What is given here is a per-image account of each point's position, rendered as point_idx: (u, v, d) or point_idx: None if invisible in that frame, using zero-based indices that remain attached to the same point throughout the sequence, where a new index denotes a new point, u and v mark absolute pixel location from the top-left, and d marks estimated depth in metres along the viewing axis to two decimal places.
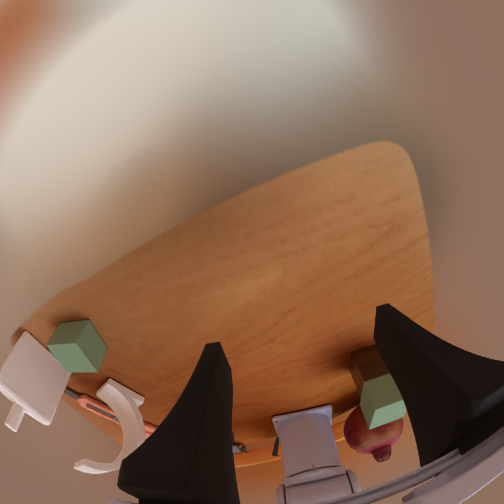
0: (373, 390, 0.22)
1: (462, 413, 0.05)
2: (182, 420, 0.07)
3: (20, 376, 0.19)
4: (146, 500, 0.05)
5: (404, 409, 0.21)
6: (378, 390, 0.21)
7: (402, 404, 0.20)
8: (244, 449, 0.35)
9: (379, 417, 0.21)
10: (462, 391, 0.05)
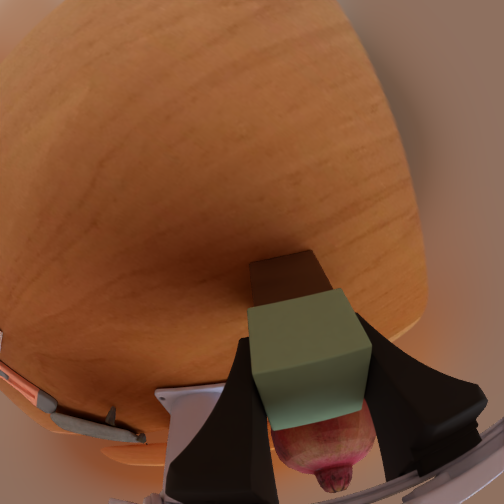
0: (263, 326, 0.10)
1: (417, 436, 0.05)
2: (229, 416, 0.07)
3: None
4: None
5: (357, 389, 0.09)
6: (276, 327, 0.10)
7: (344, 372, 0.09)
8: (142, 439, 0.23)
9: (284, 402, 0.09)
10: (416, 414, 0.05)
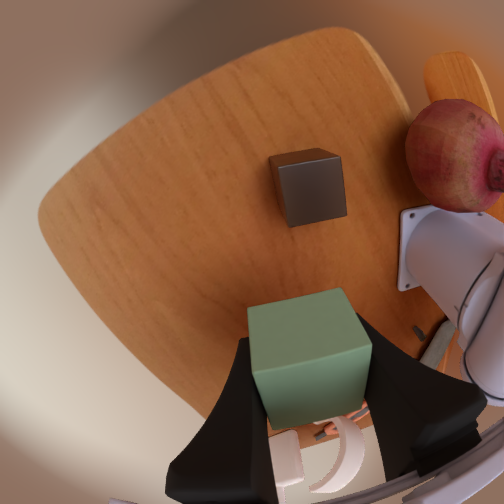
0: (263, 325, 0.10)
1: (417, 436, 0.05)
2: (229, 416, 0.07)
3: None
4: None
5: (357, 389, 0.09)
6: (276, 326, 0.10)
7: (344, 371, 0.09)
8: None
9: (284, 401, 0.09)
10: (416, 414, 0.05)
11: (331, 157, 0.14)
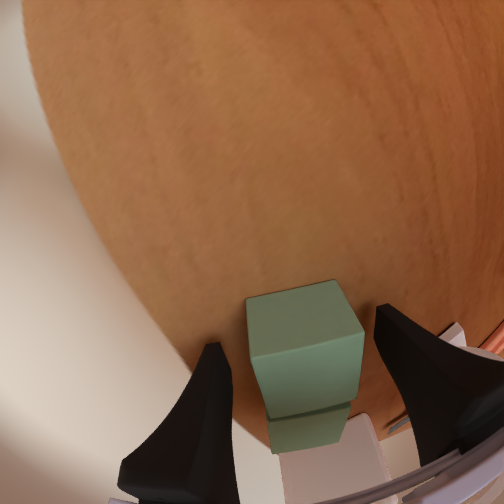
0: (261, 315, 0.11)
1: (462, 413, 0.05)
2: (182, 420, 0.07)
3: (313, 498, 0.13)
4: (146, 500, 0.05)
5: (351, 377, 0.10)
6: (273, 315, 0.10)
7: (338, 358, 0.09)
8: None
9: (281, 388, 0.10)
10: (462, 391, 0.05)
11: None
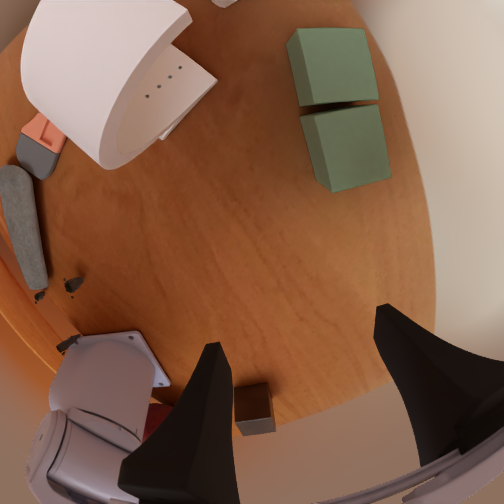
0: None
1: (462, 413, 0.05)
2: (182, 420, 0.07)
3: None
4: (146, 500, 0.05)
5: (329, 150, 0.14)
6: None
7: (344, 172, 0.15)
8: (41, 298, 0.20)
9: (375, 146, 0.14)
10: (462, 391, 0.05)
11: (247, 435, 0.25)
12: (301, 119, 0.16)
